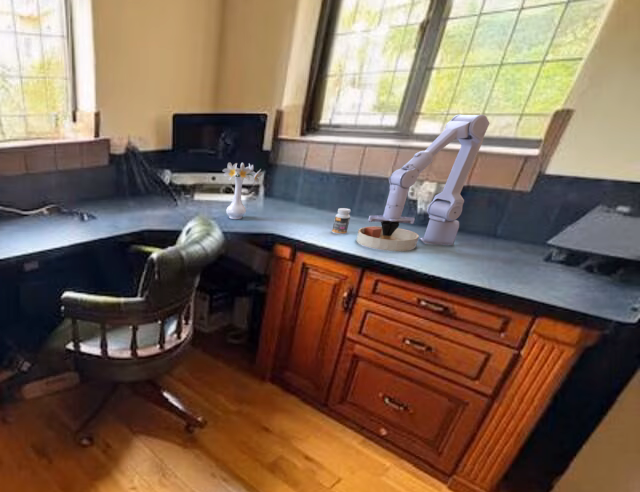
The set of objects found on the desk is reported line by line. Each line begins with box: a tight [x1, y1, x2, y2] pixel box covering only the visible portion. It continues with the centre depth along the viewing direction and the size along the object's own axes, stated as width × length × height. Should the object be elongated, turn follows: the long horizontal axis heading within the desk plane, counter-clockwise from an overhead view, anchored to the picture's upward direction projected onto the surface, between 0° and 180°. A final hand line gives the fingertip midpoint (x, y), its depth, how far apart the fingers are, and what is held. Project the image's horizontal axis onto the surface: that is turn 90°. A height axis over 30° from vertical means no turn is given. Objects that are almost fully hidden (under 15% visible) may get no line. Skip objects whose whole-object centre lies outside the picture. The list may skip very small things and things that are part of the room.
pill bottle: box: [331, 207, 352, 235], centre depth 174 cm, size 6×6×10 cm
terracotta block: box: [364, 225, 382, 238], centre depth 167 cm, size 4×4×4 cm
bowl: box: [355, 225, 420, 252], centre depth 161 cm, size 20×20×4 cm
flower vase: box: [221, 162, 263, 220], centre depth 198 cm, size 13×18×25 cm
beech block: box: [381, 235, 396, 240], centre depth 155 cm, size 4×4×4 cm
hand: (384, 241), depth 158 cm, fingers closed, pressing on beech block
